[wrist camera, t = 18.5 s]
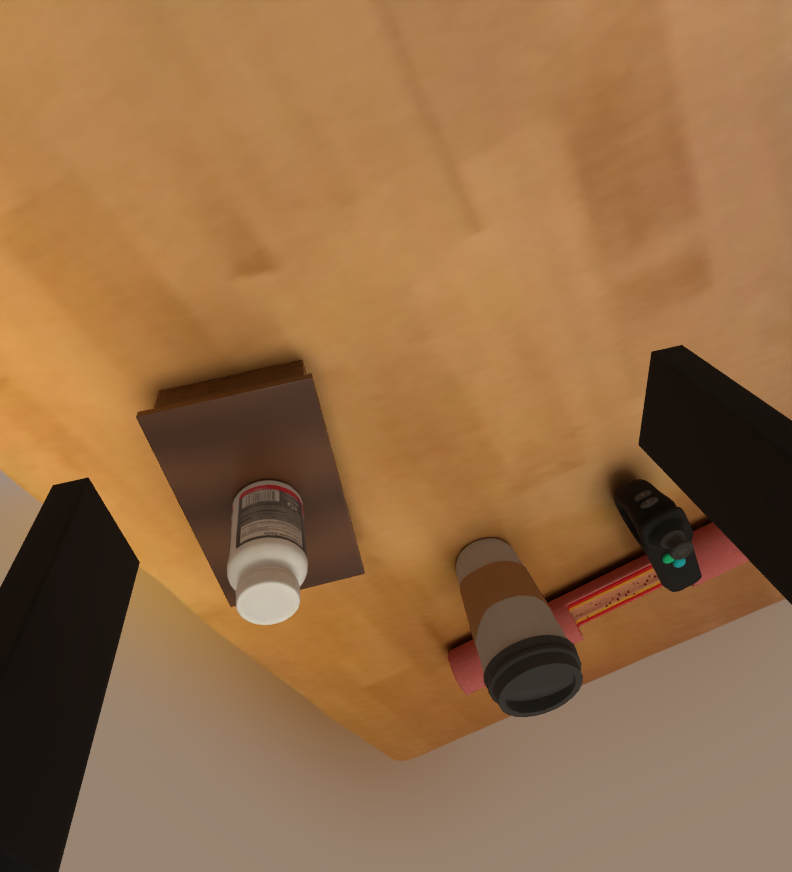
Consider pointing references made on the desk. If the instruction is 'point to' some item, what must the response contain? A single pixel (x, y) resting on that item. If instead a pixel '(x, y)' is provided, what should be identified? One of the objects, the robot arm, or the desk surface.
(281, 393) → the stand
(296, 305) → the desk surface
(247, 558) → the pill bottle
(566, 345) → the desk surface
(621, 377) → the desk surface
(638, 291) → the desk surface
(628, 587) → the blood vessel
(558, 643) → the coffee cup
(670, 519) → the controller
